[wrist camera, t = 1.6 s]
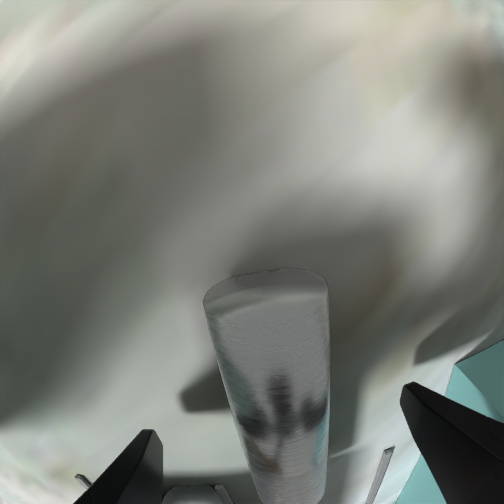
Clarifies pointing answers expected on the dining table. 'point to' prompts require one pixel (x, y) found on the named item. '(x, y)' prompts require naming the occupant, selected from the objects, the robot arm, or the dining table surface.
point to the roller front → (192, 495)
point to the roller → (276, 376)
